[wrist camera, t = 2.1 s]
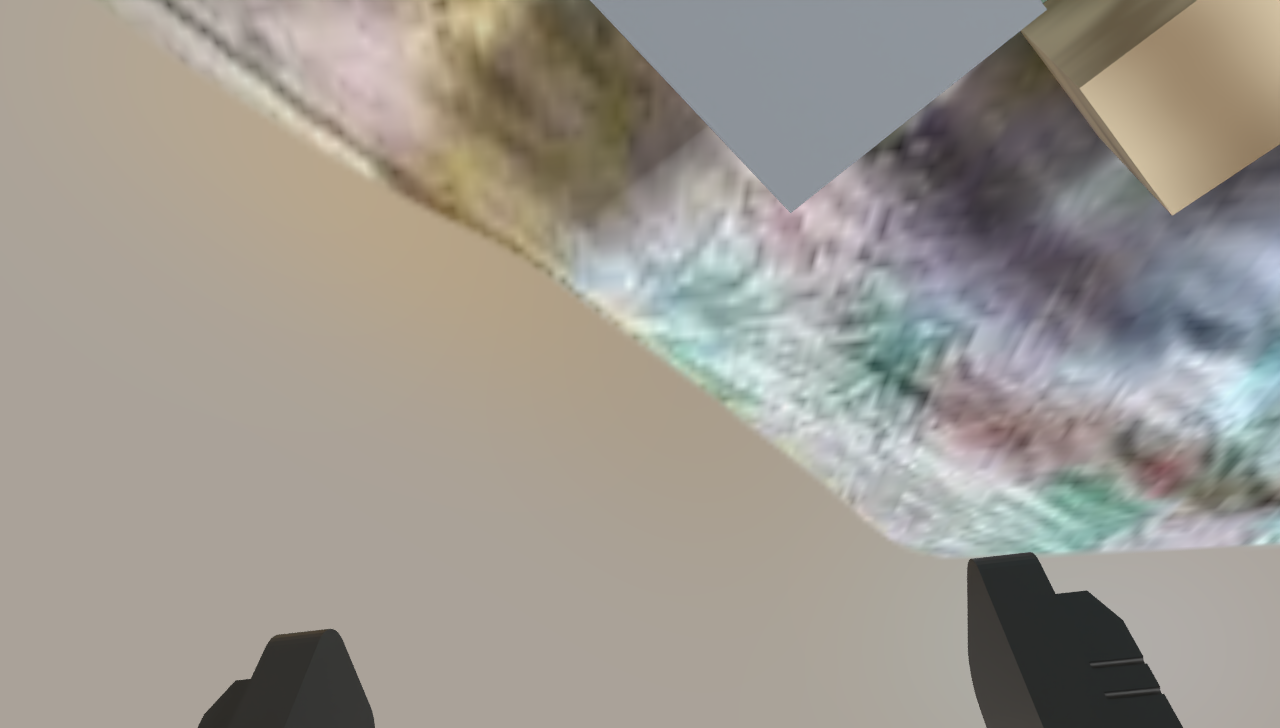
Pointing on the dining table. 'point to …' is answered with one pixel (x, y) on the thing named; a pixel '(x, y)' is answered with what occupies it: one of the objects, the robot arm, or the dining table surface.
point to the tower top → (812, 71)
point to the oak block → (1170, 84)
